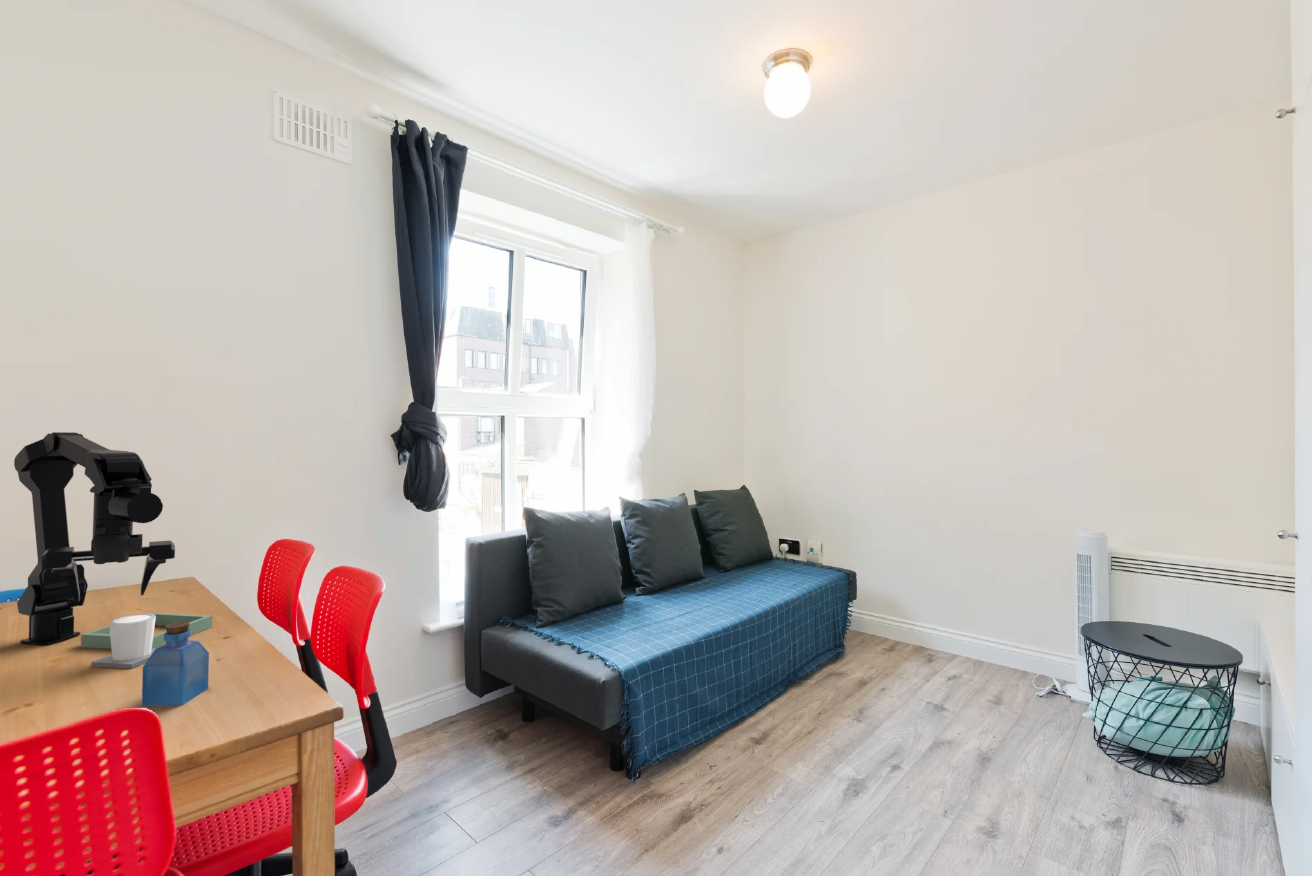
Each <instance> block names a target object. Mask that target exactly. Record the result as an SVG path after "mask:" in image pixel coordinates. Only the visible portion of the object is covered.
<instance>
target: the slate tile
mask: <svg viewBox="0 0 1312 876" xmlns="http://www.w3.org/2000/svg"><path fill="white" fill-rule="evenodd" d="M155 649H157V648H152V649H151V653H150V654H149V655H146V656H144V657H141V658H137V659H132V660H123V661H118V660H113V658H112V653H111V654H109V655H106V656H103V657H101V658H98V659H96V660H94V661H93V660H92V661H91V662H90V663H91V665H90V666H91V667H96V668H116V669H134V668H136V667H140V666H141V665H145V663H146V662H147V660H148V659H149V658H150V656H151V655H152V653H153V652H154V651H155Z"/></svg>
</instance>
